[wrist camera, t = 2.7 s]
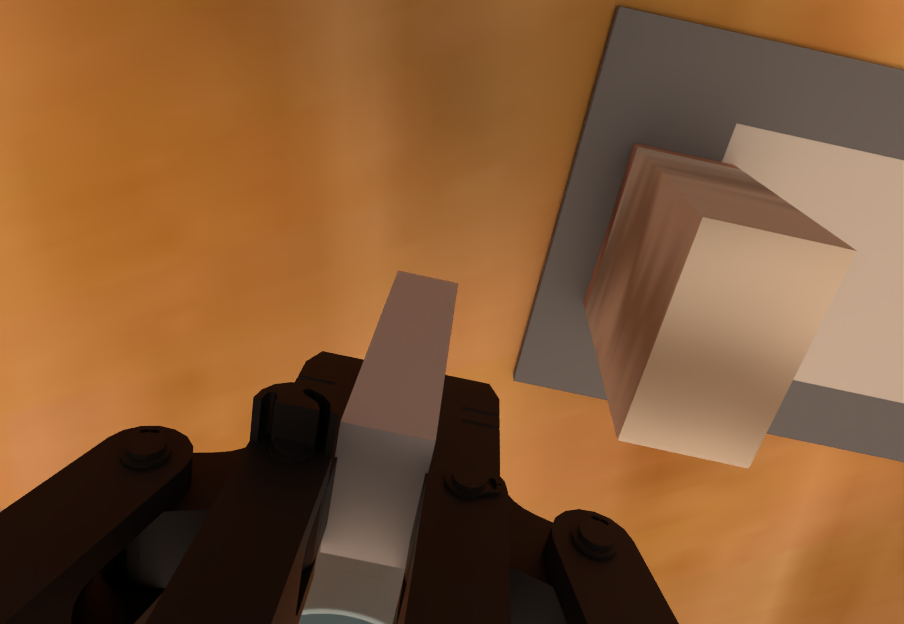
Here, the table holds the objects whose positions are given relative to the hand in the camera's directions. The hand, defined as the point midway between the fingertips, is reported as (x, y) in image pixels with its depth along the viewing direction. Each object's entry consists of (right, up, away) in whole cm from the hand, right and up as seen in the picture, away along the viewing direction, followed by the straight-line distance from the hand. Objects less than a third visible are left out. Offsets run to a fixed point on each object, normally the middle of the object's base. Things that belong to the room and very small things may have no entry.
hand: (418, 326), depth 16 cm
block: (+9, +3, +11) cm, 14 cm away
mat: (+15, +2, +11) cm, 19 cm away
